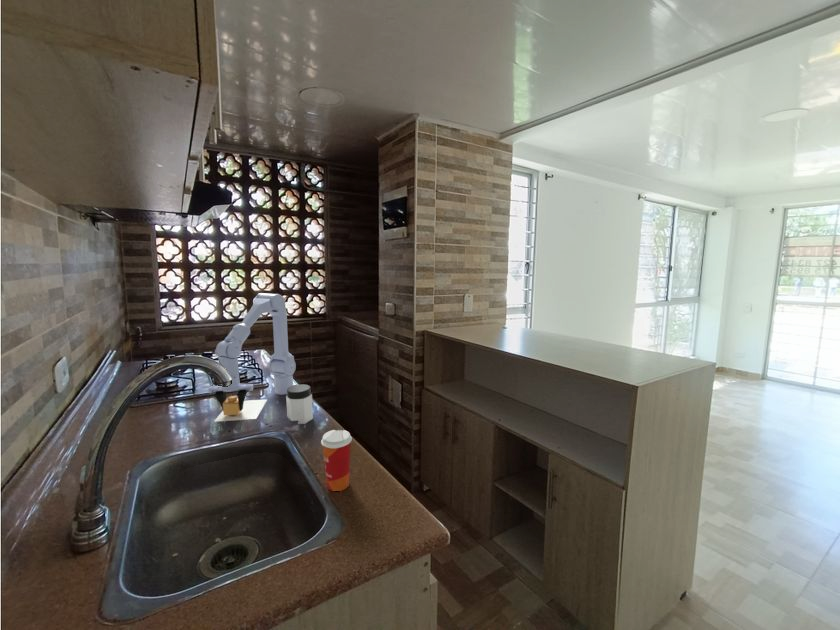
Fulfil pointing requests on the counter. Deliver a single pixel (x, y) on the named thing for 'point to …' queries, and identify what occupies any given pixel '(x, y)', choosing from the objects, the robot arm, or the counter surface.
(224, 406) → the orange domed block
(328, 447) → the paper cup
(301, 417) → the jar
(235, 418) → the white board
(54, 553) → the counter surface
